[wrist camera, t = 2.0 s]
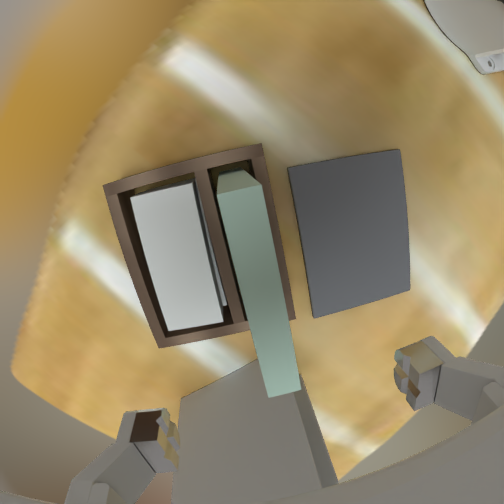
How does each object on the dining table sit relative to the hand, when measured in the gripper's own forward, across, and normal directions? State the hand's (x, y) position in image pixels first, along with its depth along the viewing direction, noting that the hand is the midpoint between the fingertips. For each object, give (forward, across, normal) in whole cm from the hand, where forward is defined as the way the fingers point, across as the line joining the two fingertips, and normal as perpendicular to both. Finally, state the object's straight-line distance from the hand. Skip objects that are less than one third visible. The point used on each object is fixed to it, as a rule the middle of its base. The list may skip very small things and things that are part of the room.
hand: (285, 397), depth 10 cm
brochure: (+23, +4, +19) cm, 30 cm away
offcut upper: (+20, +5, 0) cm, 20 cm away
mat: (+22, -12, +3) cm, 25 cm away
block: (+22, 0, 0) cm, 22 cm away
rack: (+22, +3, 0) cm, 22 cm away
